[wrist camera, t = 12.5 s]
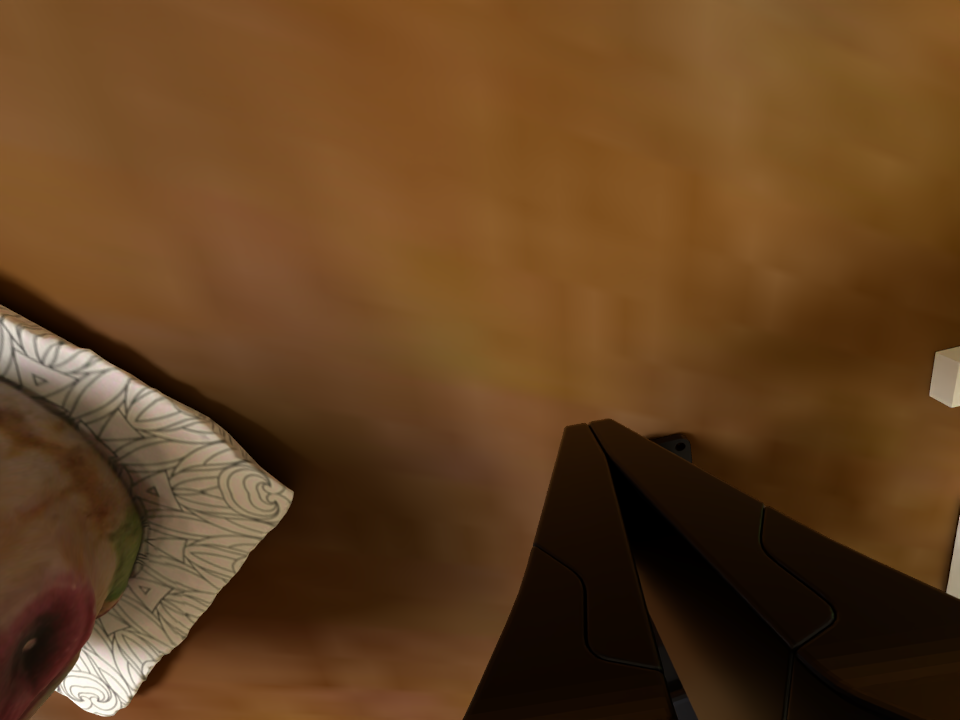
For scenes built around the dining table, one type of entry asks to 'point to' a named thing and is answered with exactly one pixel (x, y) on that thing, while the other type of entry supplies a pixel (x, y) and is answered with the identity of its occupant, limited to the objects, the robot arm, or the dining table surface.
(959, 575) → the paper stack
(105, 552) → the cookie jar
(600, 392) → the dining table surface
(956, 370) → the kettle dock outline
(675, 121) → the dining table surface
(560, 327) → the dining table surface
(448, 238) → the dining table surface
